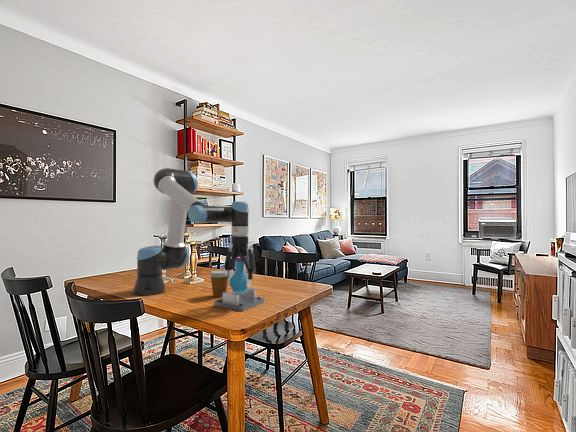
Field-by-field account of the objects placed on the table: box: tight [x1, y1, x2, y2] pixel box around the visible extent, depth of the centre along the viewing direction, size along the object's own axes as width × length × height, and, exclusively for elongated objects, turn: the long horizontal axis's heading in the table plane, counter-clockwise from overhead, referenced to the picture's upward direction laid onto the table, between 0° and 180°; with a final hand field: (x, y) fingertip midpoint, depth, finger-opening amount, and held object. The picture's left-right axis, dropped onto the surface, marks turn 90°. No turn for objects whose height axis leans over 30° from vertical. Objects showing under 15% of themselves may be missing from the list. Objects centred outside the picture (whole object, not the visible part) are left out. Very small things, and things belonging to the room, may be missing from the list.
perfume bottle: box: [228, 256, 249, 294], centre depth 146 cm, size 9×9×15 cm
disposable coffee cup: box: [209, 269, 229, 298], centre depth 161 cm, size 10×10×12 cm
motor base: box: [213, 287, 265, 312], centre depth 146 cm, size 16×16×6 cm
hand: (239, 285), depth 146 cm, fingers closed on perfume bottle, 9 cm apart
